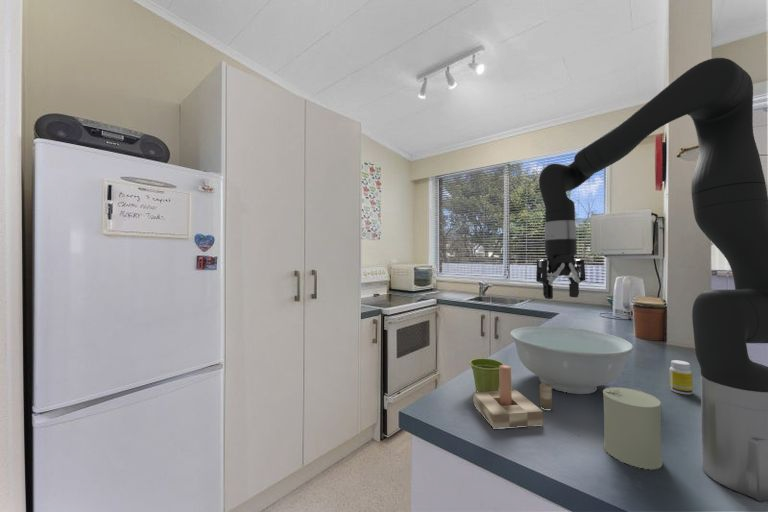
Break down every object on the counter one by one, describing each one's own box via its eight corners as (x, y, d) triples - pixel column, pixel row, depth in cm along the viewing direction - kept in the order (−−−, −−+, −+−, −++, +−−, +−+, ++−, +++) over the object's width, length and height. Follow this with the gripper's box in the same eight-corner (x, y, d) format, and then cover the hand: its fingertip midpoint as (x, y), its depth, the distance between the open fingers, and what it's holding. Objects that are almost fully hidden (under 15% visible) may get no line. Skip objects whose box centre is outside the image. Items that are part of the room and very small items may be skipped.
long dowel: (514, 417, 78) (513, 368, 78) (503, 418, 77) (502, 369, 77) (508, 411, 81) (507, 364, 80) (497, 412, 80) (497, 365, 80)
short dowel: (554, 410, 81) (554, 387, 81) (544, 411, 81) (543, 387, 81) (547, 405, 84) (547, 382, 84) (537, 406, 83) (537, 383, 83)
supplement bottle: (697, 395, 88) (696, 365, 88) (677, 394, 89) (676, 364, 89) (684, 388, 93) (683, 359, 93) (665, 387, 94) (665, 359, 94)
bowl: (617, 373, 105) (616, 329, 105) (651, 419, 76) (650, 358, 76) (513, 361, 119) (512, 322, 119) (508, 396, 90) (507, 344, 90)
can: (605, 435, 69) (604, 381, 69) (661, 451, 63) (660, 392, 63) (601, 456, 62) (600, 395, 62) (663, 477, 56) (662, 409, 56)
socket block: (543, 426, 74) (542, 411, 74) (493, 430, 72) (493, 414, 72) (516, 402, 85) (515, 389, 85) (473, 405, 84) (473, 392, 84)
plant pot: (472, 384, 98) (471, 356, 98) (504, 389, 94) (504, 360, 94) (468, 397, 89) (467, 366, 89) (503, 402, 86) (503, 370, 86)
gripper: (549, 237, 80) (551, 301, 80) (593, 237, 84) (594, 298, 84) (528, 239, 88) (529, 297, 88) (569, 239, 92) (570, 295, 92)
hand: (561, 297), depth 86 cm, fingers open, 8 cm apart
